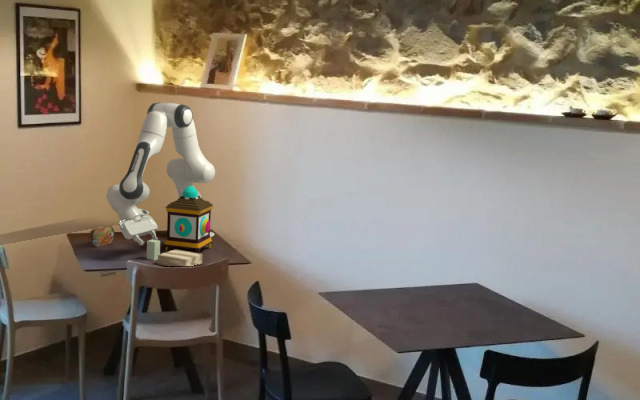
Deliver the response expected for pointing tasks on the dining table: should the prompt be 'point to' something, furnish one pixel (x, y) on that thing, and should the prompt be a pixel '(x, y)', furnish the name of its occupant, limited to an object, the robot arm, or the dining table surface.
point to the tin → (101, 236)
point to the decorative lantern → (188, 222)
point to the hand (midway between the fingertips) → (149, 242)
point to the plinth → (179, 258)
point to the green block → (153, 249)
